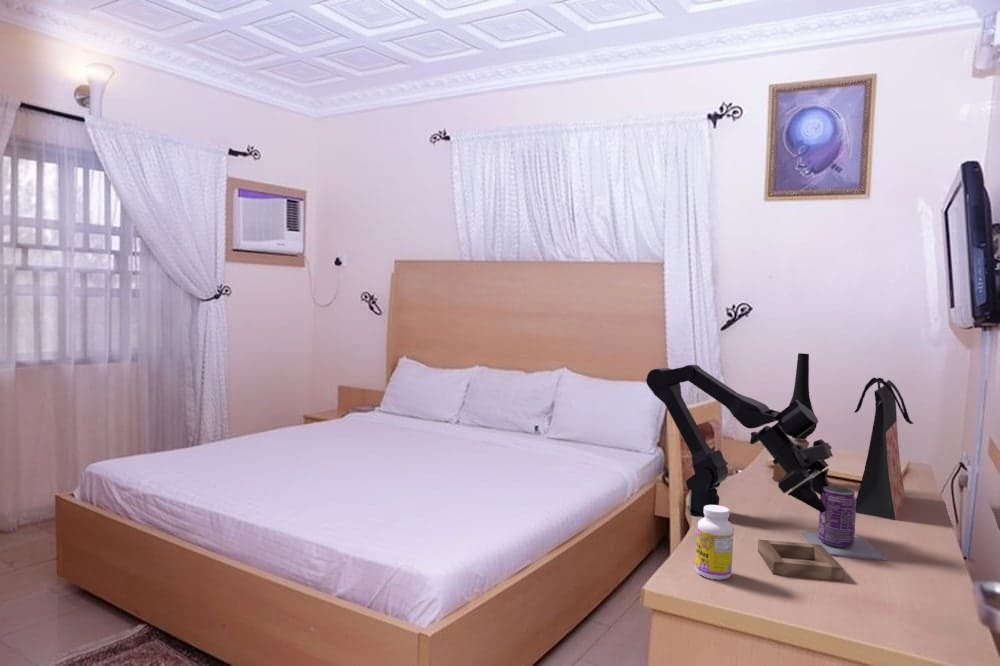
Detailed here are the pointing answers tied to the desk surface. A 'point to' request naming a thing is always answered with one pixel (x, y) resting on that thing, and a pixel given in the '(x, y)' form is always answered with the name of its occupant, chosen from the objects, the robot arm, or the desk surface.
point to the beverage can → (837, 516)
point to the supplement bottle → (714, 543)
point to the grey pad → (846, 548)
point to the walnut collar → (819, 569)
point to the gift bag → (883, 457)
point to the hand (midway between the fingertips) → (830, 507)
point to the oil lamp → (803, 397)
